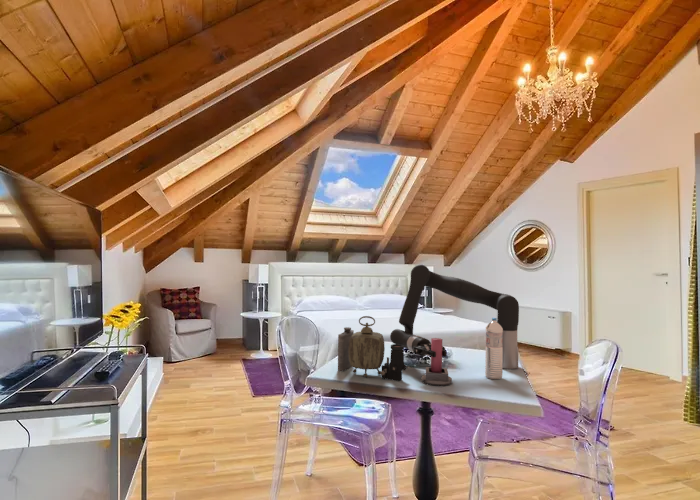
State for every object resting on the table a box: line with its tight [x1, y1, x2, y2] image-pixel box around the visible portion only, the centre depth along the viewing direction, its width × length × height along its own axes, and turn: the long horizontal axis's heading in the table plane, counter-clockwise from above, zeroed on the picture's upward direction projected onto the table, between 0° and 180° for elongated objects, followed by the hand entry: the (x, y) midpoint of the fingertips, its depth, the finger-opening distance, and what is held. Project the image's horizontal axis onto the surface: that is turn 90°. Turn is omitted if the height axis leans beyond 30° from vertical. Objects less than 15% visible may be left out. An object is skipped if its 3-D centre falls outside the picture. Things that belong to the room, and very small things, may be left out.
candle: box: [430, 337, 443, 373], centre depth 169 cm, size 4×4×14 cm
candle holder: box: [421, 366, 453, 387], centre depth 169 cm, size 12×12×4 cm
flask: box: [337, 326, 355, 373], centre depth 188 cm, size 4×14×18 cm, turn 160°
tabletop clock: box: [348, 315, 385, 378], centre depth 176 cm, size 14×9×25 cm, turn 80°
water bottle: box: [484, 317, 504, 380], centre depth 176 cm, size 7×7×25 cm
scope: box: [380, 343, 407, 382], centre depth 172 cm, size 8×14×10 cm
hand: (440, 354), depth 166 cm, fingers closed on candle, 4 cm apart
